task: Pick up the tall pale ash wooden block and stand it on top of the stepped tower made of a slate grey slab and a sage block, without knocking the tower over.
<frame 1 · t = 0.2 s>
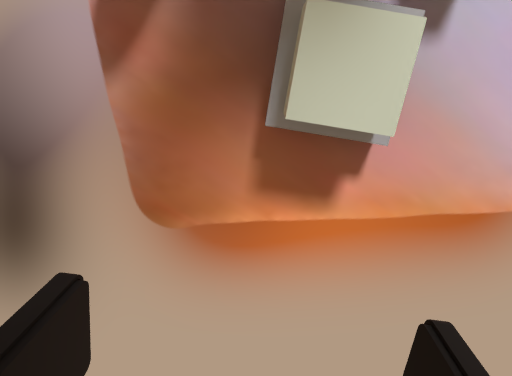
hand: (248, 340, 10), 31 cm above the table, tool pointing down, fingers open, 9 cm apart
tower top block: (340, 71, 33), point 5 cm above the table, touching tower bottom block
tower bottom block: (331, 71, 37), on the table, touching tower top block
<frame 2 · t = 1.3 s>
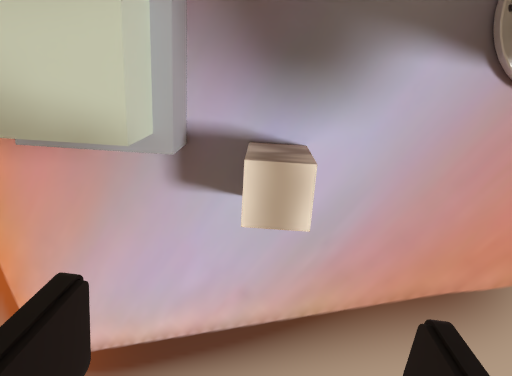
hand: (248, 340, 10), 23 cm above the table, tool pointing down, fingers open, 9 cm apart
ash block: (275, 171, 32), on the table
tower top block: (87, 65, 25), point 5 cm above the table
tower bottom block: (116, 67, 30), on the table
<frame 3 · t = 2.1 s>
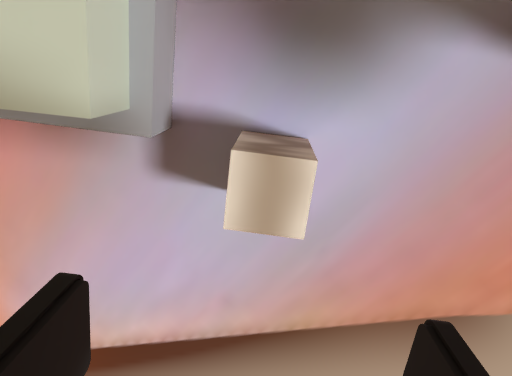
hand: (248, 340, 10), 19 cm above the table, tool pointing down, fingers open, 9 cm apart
ash block: (270, 166, 28), on the table
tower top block: (54, 23, 21), point 4 cm above the table, touching tower bottom block
tower bottom block: (95, 33, 26), on the table, touching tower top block
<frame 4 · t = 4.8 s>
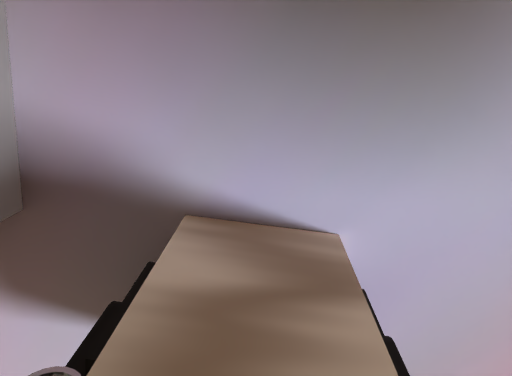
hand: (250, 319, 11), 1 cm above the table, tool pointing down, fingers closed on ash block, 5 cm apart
ash block: (252, 291, 12), on the table, touching gripper
when the fingers open (13 cm above the table, at t = 13.1 s): ash block drops 2 cm, resting on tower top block.
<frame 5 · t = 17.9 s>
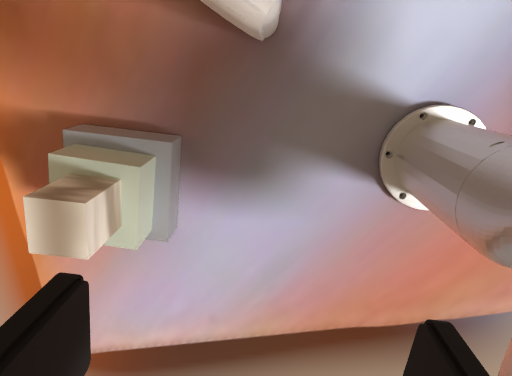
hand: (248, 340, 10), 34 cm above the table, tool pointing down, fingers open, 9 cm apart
ash block: (96, 200, 36), point 10 cm above the table, touching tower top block
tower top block: (114, 188, 41), point 5 cm above the table, touching ash block, tower bottom block
tower bottom block: (133, 176, 45), on the table, touching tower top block
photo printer: (236, 2, 39), on the table
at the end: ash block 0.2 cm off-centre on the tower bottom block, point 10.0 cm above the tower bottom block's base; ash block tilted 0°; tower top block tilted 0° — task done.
